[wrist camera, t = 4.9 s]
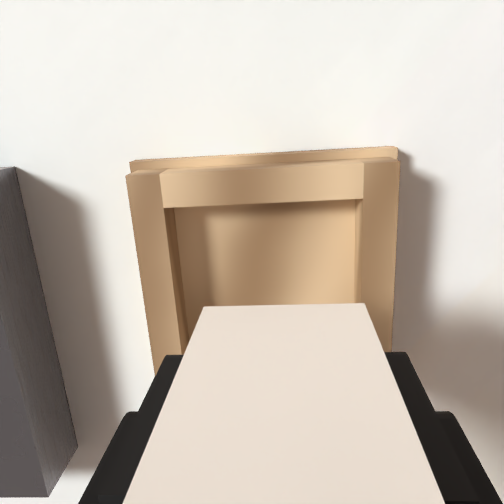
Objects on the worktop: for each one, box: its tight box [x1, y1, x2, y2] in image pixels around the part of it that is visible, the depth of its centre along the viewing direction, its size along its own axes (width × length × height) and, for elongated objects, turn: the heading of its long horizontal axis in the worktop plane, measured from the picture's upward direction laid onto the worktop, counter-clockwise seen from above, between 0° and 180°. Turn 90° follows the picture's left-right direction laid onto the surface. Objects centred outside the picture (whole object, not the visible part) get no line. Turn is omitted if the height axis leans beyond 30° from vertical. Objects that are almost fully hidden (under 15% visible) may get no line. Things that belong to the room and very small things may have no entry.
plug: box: [123, 303, 445, 504], centre depth 8 cm, size 4×4×7 cm
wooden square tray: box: [126, 146, 400, 376], centre depth 17 cm, size 10×10×2 cm
